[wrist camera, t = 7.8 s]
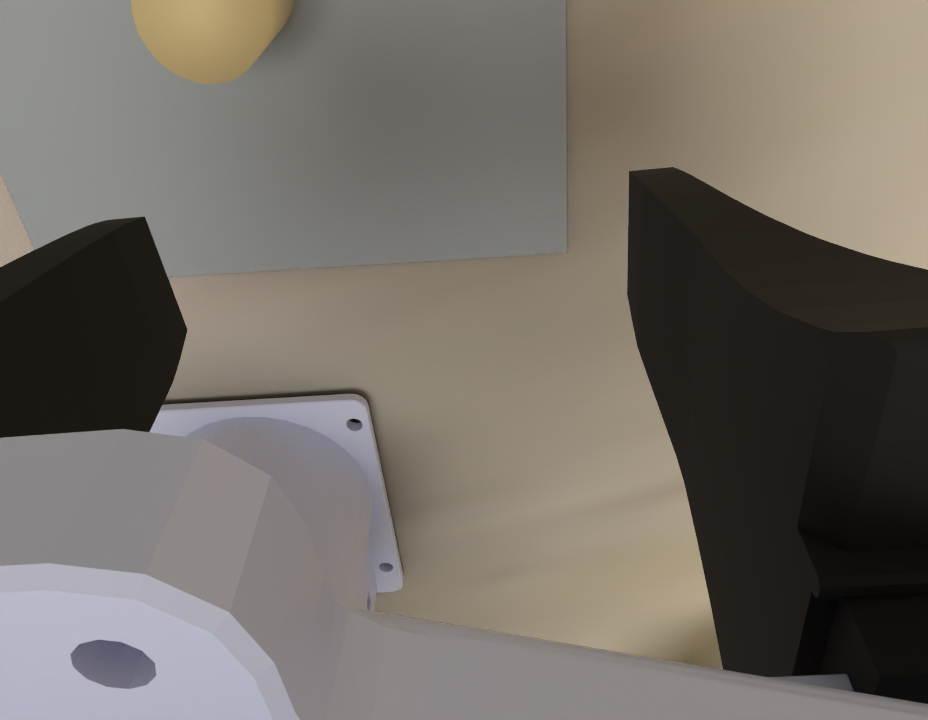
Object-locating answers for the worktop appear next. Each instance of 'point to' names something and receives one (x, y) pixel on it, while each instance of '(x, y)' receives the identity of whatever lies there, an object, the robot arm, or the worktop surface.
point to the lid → (290, 127)
